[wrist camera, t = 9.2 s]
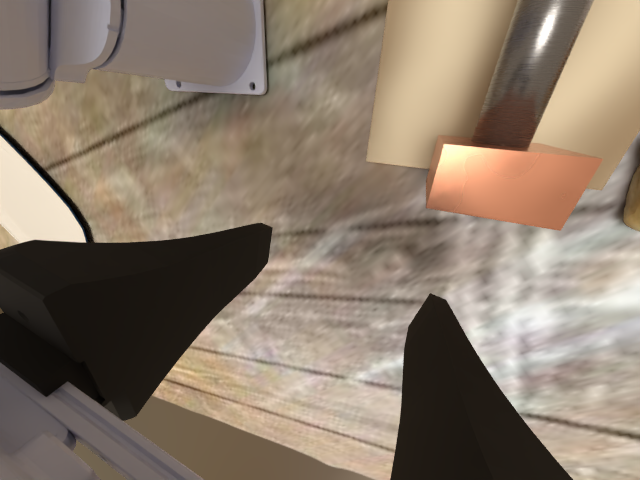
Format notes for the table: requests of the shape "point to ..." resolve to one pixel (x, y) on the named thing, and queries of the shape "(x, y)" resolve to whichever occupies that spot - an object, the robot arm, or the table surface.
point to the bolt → (517, 130)
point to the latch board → (477, 71)
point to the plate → (33, 202)
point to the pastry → (633, 203)
